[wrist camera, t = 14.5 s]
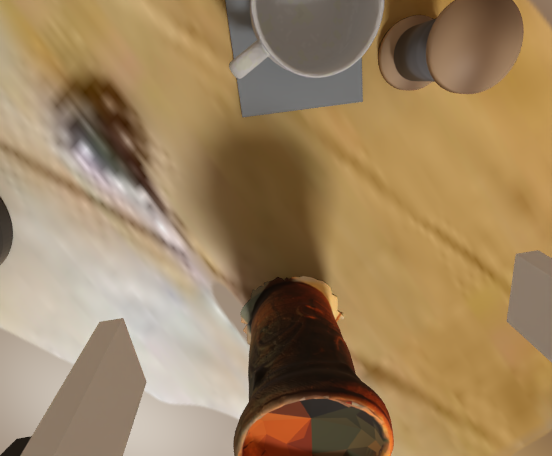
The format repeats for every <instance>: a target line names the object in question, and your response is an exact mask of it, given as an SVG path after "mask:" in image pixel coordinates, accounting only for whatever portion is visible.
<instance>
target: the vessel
mask: <svg viewBox="0 0 552 456" xmlns="http://www.w3.org/2000/svg"><path fill="white" fill-rule="evenodd" d="M331 291H332V290H331V288H330V286H329V285H327V284H325V282H324V281H321V280H316V279H314V278H312V277H305V276H301V277H292V278H290V279H288V278H287V277H286V279H285V280H283V279H281V278H279V277H277V278H276V279H274V280H272V281H269V282H265V283H264V286H260V287H258V288H257V289H256V290H253V291H252V295H251V299H250V300H249V301H248V302H247V304H246V305H245V306H244V307H243V309H242V311H241V317H242V320H241V322H242V323H244V324H247V325H246V327H245V328H244V330H243V331H244V332H245V333H246V334H247V342H248V344H250V351H249V368H248V377H249V403H248V404H247V406H246V408H245V410H244V411H243V413H242V415H241V417H240V419H239V422H238V425H237V428H236V431H235V436H234V455H235V456H391V453H392V451H393V446H394V439H393V430H392V424H391V419H390V416H389V413H388V410H387V408H386V406H385V404H384V403H383V401H382V400H381V398H380V397H379V396H378V395H377V394H376V393H375V392H374V391H373V390H372V389H371V388H370V387H369V386H367V385H366V384H365V383H363V382H362V381H361V380H360V379H359V378H358V376H357V375H356V374H355V369H354V366H353V362H352V359H351V355H350V352H349V350H348V347H347V345H346V343H345V341H344V339H343V337H342V335H341V332H340V329H339V327H338V325H337V321H338V320H339V319H340V318H342V319H344V316H343V315H342V314H341V313H340V312H338V311H337V297H336V296H334V295H332V294H331Z"/></svg>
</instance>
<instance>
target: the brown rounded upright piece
mask: <svg viewBox="0 0 552 456" xmlns="http://www.w3.org/2000/svg"><path fill="white" fill-rule="evenodd" d="M522 41H523V21H522V17H521V14H520V11H519V9H518V7H517V6H516V4H515V3H514V2H513V1H512V0H455V1H453V2H452V3H450V4H449V5H448V6H447V7H446V8H445V9H444V10H443V11H442V12H441V13H440V15H439V16H438V17H437V18H436V19H433V18H431V17H428V16H424V15H415V16H411V17H408V18H405V19H403V20H401V21H399V22H397V23H396V24H394V25H393V26H392V27H391V28H390V29H389V30H388V32H387V33H386V34H385V36H384V38H383V40H382V42H381V45H380V48H379V53H378V64H379V69H380V72H381V74H382V76H383V78H384V79H385V80H386V81H387V83H389V84H390V85H391V86H393V87H394V88H397V89H400V90H417V89H420V88H423V87H425V86H427V85H428V84H430V83H431V82H432V81H435V82H436V83H437V84H438V85H439V86H440V87H442V88H443V89H445V90H447V91H449V92H453V93H460V94H474V93H479V92H482V91H485V90H487V89H489V88H491V87H493V86H494V85H496V84H497V83H498V82H499V81H501V80H502V79H503V78H504V77H505V76H506V75H507V73H508V72H509V71H510V70H511V68H512V67H513V65H514V63H515V62H516V60H517V58H518V55H519V53H520V50H521V46H522Z"/></svg>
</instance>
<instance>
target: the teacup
mask: <svg viewBox="0 0 552 456" xmlns="http://www.w3.org/2000/svg"><path fill="white" fill-rule="evenodd" d="M383 11H384V0H250V16H251V23H252V27H253V30H254V33H255V36H256V38H257V41H255V42H254V43H253V44H252V45H251V46H249V47H248V48H247V49H246V50H245V51H243V52H242V53H241V54H239V55H238V56H237V57H236V58H235V59H234V60H232V61H231V62H230V64H229V68H230V70H231V72H232V73H233V75H234V76H235V77H236V78H238V79H241V78H243V77H244V76H245V75H246V74H248V73H249V72H250V71H251V70H252V69H254V68H255V67H256V66H257V65H259V64H260V63H261V62H262V61H263V60H264V59H266V58H267V57H269V58H270V59H271V60H272V61H273V62H275V63H276V64H277V65H279V66H280V67H282V68H284V69H286V70H288V71H290V72H292V73H294V74H297V75H300V76H304V77H308V78H322V77H328V76H332V75H334V74H337V73H340V72H342V71H344V70H346V69H348V68H349V67H351V66H352V65H353V64H355V63H356V62H357V61H358V60H359V59H360V58H361V57H362V56H363V55H364V53H365V52H366V51H367V50H368V48H369V47H370V45H371V43H372V42H373V40H374V38H375V36H376V34H377V32H378V29H379V26H380V23H381V20H382V16H383Z"/></svg>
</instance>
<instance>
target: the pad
mask: <svg viewBox="0 0 552 456" xmlns="http://www.w3.org/2000/svg"><path fill="white" fill-rule="evenodd" d="M225 2H226V8H227V15H228V22H229V29H230V35H231V42H232V49H233V56H234V59H235V58H236V57H237V56H238V55H239V54H241V53H242V52H243V51H245V50H246V49H247V48H248V47H249V46H251V45H252V44H253V43H254V42H255V41H257V38H256V36H255V33H254V30H253V27H252V23H251V16H250V0H225ZM237 83H238V90H239V96H240V103H241V110H242V117H248V116H256V115H264V114H271V113H279V112H287V111H294V110H302V109H310V108H317V107H325V106H333V105H340V104H348V103H356V102H363V95H362V57H361V58H360V59H359V60H358V61H357V62H356V63H355V64H353V65H352V66H351V67H349V68H348V69H346V70H344V71H342V72H340V73H337V74H334V75H332V76H328V77H322V78H308V77H304V76H300V75H297V74H294V73H292V72H290V71H288V70H286V69H284V68H282V67H280V66H279V65H277V64H276V63H275V62H273V61H272V60H271V59H270V58H269V57H267V58H266V59H264V60H263V61H262V62H261V63H260V64H259V65H257V66H256V67H255V68H254V69H252V70H251V71H250V72H249V73H248V74H246V75H245V76H244V77H243V78H241V79H238V78H237Z"/></svg>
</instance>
